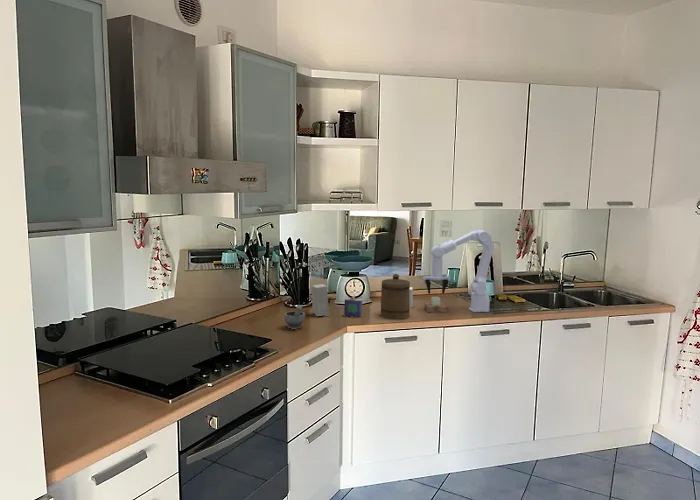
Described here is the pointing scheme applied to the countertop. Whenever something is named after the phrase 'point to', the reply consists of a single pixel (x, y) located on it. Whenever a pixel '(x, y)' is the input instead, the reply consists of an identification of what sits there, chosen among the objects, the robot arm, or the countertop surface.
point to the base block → (436, 307)
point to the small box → (411, 297)
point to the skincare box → (320, 300)
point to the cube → (435, 301)
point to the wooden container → (395, 298)
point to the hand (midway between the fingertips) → (436, 293)
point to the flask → (353, 307)
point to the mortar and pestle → (295, 317)
